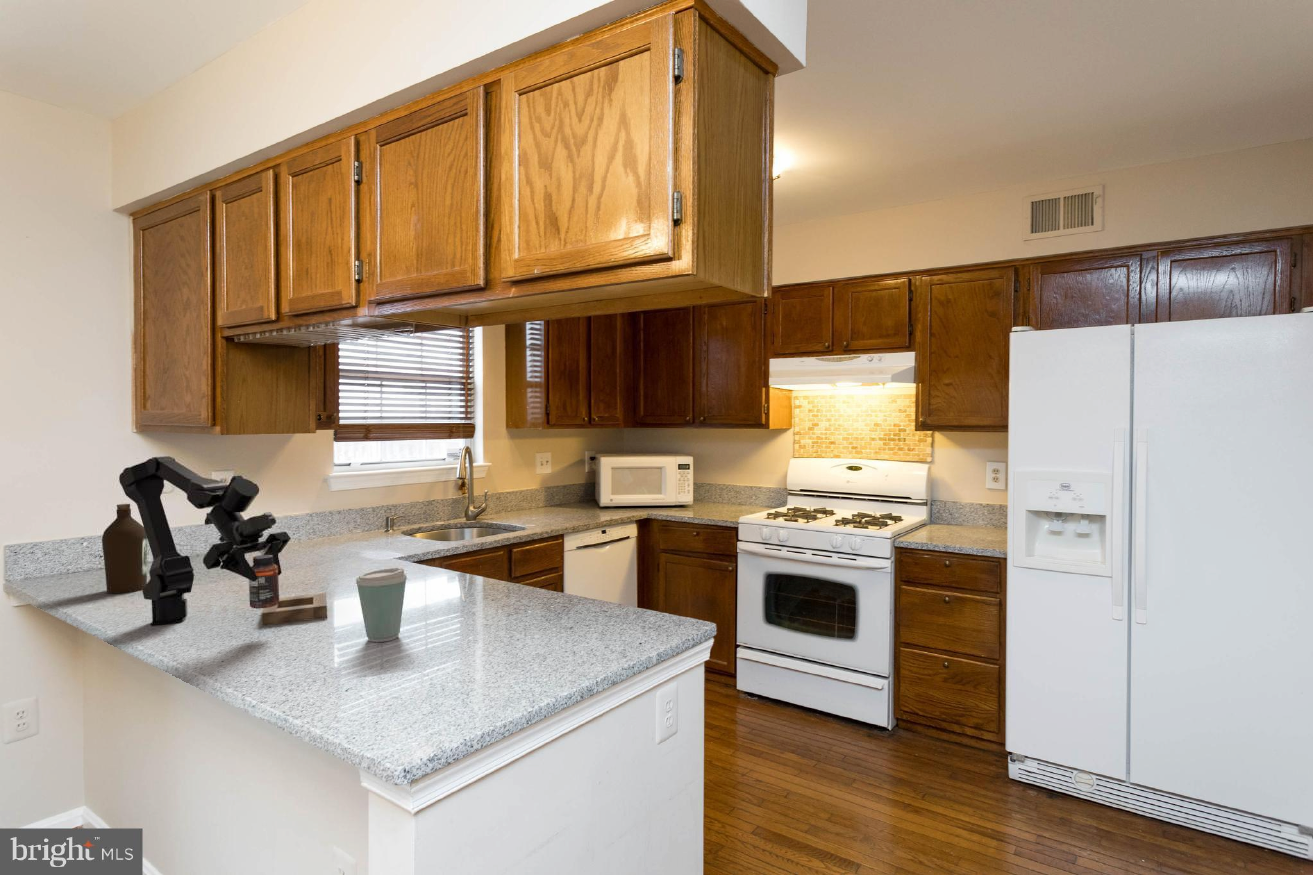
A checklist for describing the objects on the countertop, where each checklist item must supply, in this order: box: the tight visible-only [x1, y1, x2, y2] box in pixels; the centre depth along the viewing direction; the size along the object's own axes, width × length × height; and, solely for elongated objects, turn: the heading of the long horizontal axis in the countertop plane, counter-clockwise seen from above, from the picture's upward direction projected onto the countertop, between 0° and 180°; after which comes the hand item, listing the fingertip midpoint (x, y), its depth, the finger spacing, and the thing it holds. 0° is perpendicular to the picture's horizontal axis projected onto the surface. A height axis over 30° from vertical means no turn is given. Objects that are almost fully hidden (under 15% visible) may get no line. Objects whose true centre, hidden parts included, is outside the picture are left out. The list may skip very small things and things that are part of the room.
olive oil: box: [101, 503, 148, 595], centre depth 210 cm, size 11×11×25 cm
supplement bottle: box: [248, 554, 280, 610], centre depth 164 cm, size 6×6×11 cm
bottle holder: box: [261, 592, 328, 626], centre depth 181 cm, size 14×14×3 cm
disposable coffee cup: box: [355, 567, 408, 643], centre depth 160 cm, size 11×11×15 cm
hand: (268, 577), depth 163 cm, fingers closed on supplement bottle, 6 cm apart
